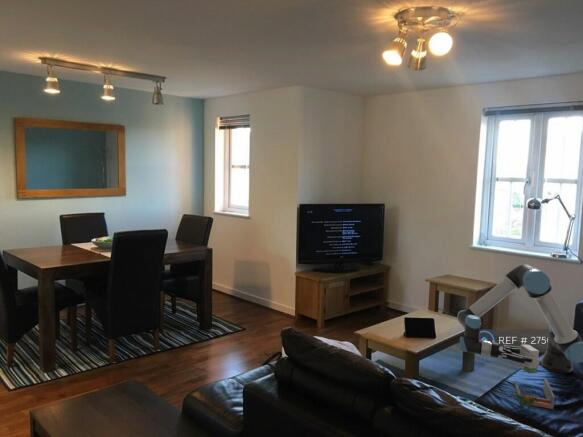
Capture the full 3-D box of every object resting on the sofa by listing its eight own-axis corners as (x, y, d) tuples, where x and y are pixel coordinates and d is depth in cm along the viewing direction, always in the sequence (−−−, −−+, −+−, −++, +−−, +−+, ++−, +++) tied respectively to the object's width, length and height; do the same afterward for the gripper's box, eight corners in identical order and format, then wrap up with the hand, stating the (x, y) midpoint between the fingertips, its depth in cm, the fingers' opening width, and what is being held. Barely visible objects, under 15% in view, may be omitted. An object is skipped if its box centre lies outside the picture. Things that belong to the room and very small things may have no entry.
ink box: (537, 373, 239) (539, 350, 237) (528, 373, 238) (530, 350, 236) (526, 365, 247) (528, 344, 246) (517, 366, 246) (520, 344, 245)
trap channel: (545, 390, 235) (546, 379, 234) (553, 409, 217) (554, 396, 216) (514, 384, 239) (515, 373, 238) (519, 402, 221) (521, 390, 220)
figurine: (537, 412, 213) (539, 395, 212) (507, 404, 218) (509, 388, 217) (537, 409, 216) (539, 392, 214) (508, 401, 221) (510, 385, 220)
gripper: (490, 348, 259) (536, 356, 250) (489, 363, 239) (539, 373, 230) (491, 335, 258) (537, 343, 250) (491, 349, 238) (541, 358, 229)
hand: (538, 357), depth 240 cm, fingers closed on ink box, 9 cm apart
